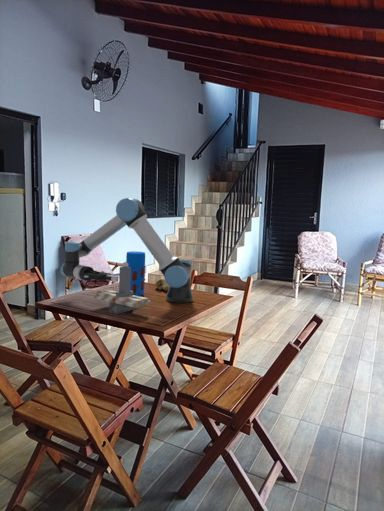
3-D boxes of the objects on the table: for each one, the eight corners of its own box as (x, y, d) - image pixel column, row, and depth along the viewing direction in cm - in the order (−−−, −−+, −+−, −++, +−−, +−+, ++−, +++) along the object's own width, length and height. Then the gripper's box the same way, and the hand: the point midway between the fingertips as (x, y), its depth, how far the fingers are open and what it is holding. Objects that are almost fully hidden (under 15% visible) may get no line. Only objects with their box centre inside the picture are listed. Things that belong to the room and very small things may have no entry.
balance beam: (92, 308, 184) (92, 292, 183) (110, 303, 194) (110, 288, 193) (134, 319, 169) (135, 301, 168) (151, 313, 179) (151, 297, 178)
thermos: (147, 294, 219) (149, 252, 216) (135, 297, 210) (137, 254, 207) (133, 291, 225) (135, 250, 222) (121, 294, 216) (122, 252, 213)
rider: (115, 298, 177) (116, 262, 175) (127, 295, 184) (128, 260, 182) (121, 300, 175) (122, 263, 173) (133, 297, 182) (134, 261, 180)
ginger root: (162, 283, 247) (164, 272, 245) (180, 292, 239) (183, 281, 237) (146, 287, 235) (148, 276, 232) (165, 297, 227) (168, 285, 224)
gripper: (93, 278, 200) (126, 284, 187) (74, 281, 189) (107, 288, 176) (93, 264, 199) (126, 270, 186) (74, 267, 188) (107, 273, 175)
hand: (117, 279), depth 181 cm, fingers closed
